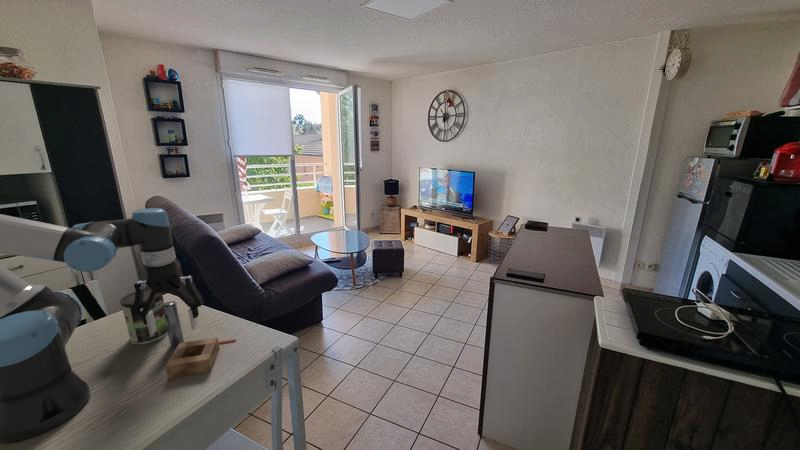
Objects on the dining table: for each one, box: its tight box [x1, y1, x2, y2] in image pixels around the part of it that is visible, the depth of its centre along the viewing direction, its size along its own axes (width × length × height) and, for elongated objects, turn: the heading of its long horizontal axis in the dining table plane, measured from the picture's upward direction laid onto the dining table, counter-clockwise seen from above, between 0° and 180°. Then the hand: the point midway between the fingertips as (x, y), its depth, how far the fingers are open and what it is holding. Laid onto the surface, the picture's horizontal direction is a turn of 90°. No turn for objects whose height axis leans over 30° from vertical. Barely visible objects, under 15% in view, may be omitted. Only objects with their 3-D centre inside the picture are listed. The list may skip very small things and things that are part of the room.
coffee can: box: [119, 288, 168, 346], centre depth 98 cm, size 10×10×14 cm
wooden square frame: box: [165, 336, 220, 380], centre depth 87 cm, size 10×10×4 cm
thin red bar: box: [218, 338, 237, 345], centre depth 96 cm, size 14×1×1 cm, turn 107°
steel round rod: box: [162, 300, 185, 349], centre depth 94 cm, size 3×3×14 cm
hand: (174, 329), depth 94 cm, fingers open, 10 cm apart
